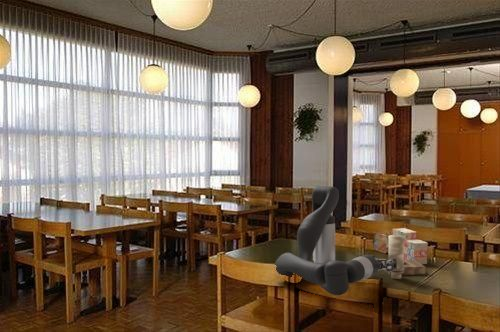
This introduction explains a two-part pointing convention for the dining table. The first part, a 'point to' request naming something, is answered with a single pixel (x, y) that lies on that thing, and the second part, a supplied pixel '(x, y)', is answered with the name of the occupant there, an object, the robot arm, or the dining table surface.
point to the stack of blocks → (413, 245)
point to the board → (410, 268)
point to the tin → (381, 243)
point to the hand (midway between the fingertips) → (384, 259)
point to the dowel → (397, 254)
